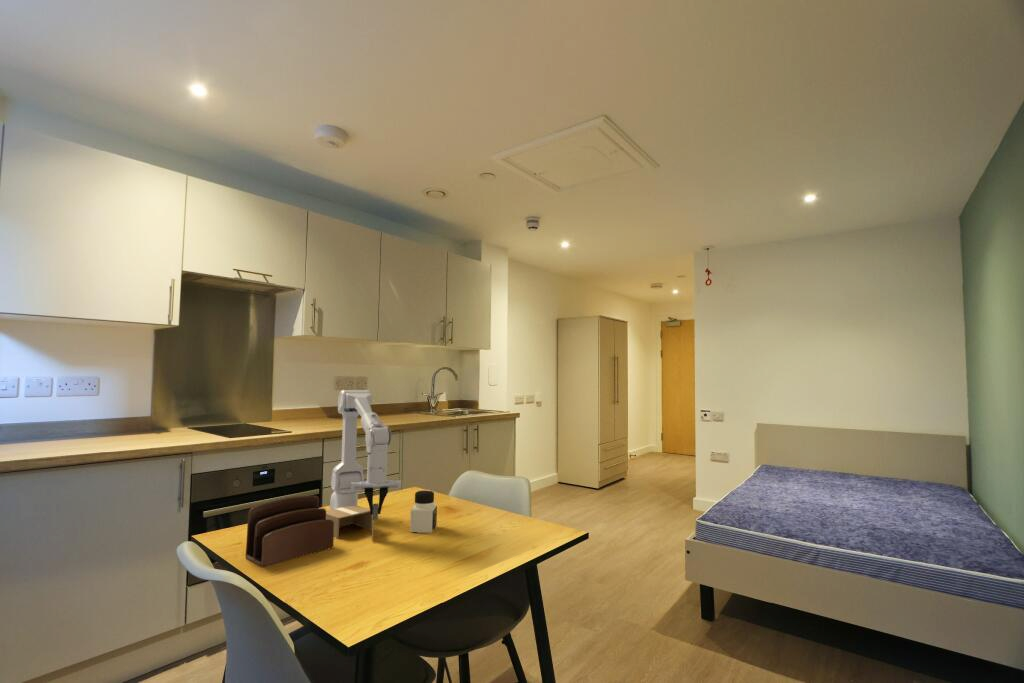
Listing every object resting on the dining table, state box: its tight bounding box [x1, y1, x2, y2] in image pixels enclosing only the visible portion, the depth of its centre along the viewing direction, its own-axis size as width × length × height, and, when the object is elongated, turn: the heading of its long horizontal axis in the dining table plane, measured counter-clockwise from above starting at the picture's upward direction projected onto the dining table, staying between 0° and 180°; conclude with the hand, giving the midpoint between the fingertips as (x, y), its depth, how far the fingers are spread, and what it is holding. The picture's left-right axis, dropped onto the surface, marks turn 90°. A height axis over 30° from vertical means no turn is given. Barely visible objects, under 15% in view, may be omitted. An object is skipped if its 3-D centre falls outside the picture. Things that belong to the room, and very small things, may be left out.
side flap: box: [371, 502, 379, 541], centre depth 150 cm, size 2×12×10 cm, turn 15°
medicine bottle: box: [409, 489, 438, 534], centre depth 156 cm, size 7×7×12 cm
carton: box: [326, 504, 373, 539], centre depth 154 cm, size 10×12×6 cm
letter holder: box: [245, 495, 335, 568], centre depth 134 cm, size 10×20×14 cm, turn 140°
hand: (375, 513), depth 147 cm, fingers closed on side flap, 2 cm apart
